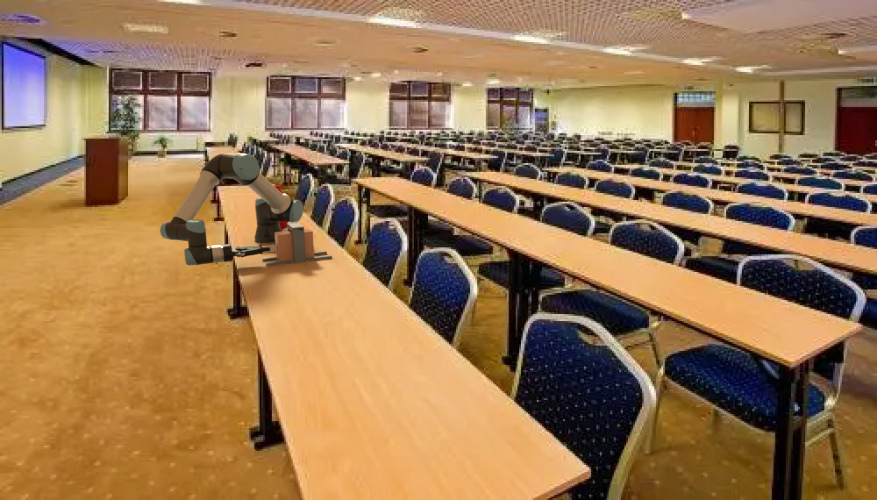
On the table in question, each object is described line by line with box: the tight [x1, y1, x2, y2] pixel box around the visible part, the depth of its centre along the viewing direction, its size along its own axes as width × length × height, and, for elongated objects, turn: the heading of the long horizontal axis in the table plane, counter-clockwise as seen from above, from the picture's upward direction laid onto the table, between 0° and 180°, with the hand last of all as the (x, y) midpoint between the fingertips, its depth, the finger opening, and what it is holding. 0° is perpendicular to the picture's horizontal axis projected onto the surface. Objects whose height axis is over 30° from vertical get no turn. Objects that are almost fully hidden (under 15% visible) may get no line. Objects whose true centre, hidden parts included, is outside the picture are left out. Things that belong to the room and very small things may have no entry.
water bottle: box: [274, 184, 290, 230], centre depth 357 cm, size 9×11×25 cm
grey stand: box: [261, 221, 333, 267], centre depth 283 cm, size 30×13×16 cm, turn 115°
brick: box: [274, 228, 315, 262], centre depth 283 cm, size 16×7×13 cm, turn 115°
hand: (276, 247), depth 279 cm, fingers closed
